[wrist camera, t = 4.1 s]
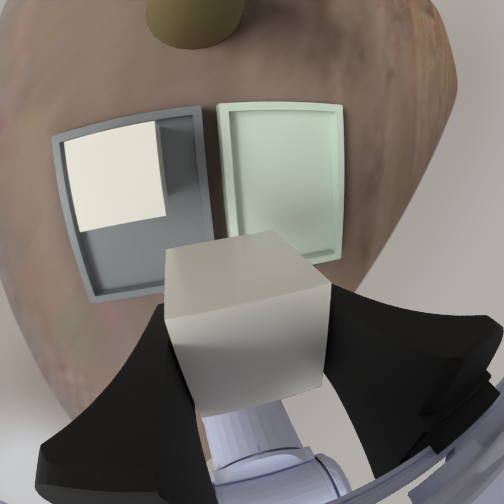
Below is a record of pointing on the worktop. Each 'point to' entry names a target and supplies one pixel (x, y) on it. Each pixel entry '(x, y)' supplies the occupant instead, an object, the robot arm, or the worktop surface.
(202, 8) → the cork
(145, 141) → the stone block
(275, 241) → the stone block
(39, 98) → the worktop surface
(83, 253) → the tray
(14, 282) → the worktop surface
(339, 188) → the tray
